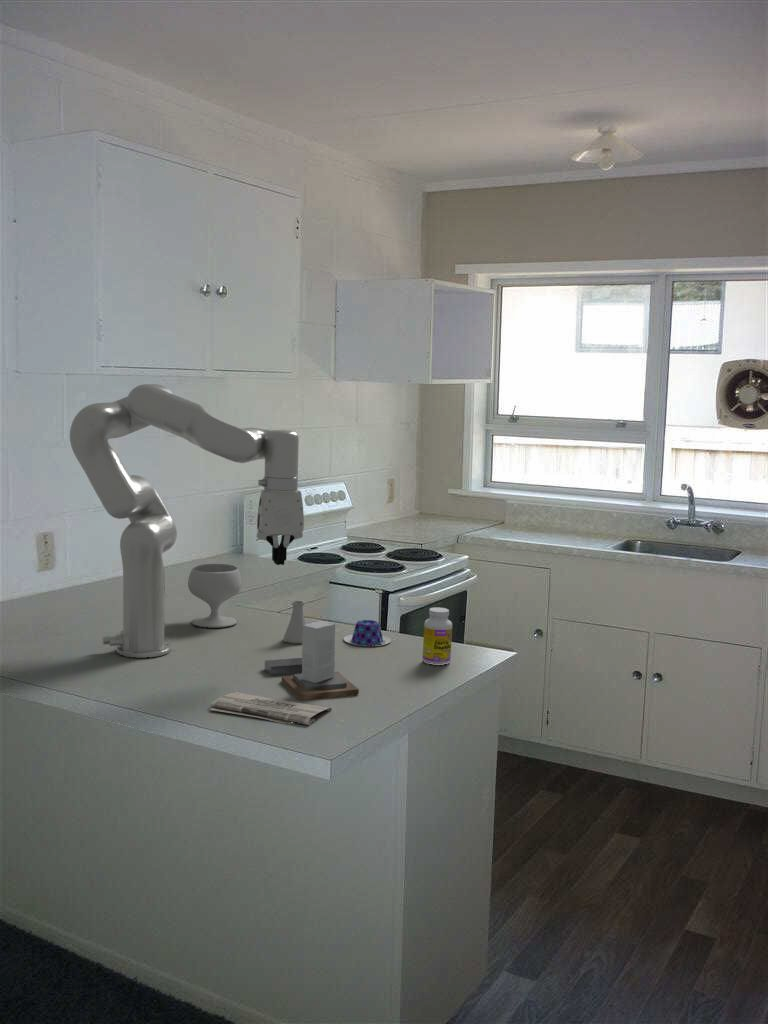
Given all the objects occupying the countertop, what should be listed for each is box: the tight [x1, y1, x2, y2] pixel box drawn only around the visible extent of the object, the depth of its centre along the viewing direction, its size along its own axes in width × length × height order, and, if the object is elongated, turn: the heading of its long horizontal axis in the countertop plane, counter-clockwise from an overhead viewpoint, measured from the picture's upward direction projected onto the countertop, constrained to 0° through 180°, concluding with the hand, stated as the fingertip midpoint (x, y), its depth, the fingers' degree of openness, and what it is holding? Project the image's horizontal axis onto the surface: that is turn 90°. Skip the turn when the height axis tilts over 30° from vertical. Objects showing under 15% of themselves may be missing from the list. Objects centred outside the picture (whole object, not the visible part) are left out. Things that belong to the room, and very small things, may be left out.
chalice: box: [187, 563, 242, 629], centre depth 267 cm, size 14×14×15 cm
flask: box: [282, 600, 307, 644], centre depth 253 cm, size 7×7×10 cm
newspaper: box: [209, 691, 333, 726], centre depth 201 cm, size 23×12×2 cm, turn 68°
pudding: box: [343, 619, 392, 647], centre depth 255 cm, size 12×12×5 cm
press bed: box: [281, 671, 360, 701], centre depth 216 cm, size 13×13×2 cm
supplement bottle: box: [422, 607, 453, 664], centre depth 238 cm, size 7×7×13 cm
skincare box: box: [301, 620, 336, 683], centre depth 215 cm, size 6×4×12 cm
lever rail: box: [264, 657, 335, 676], centre depth 229 cm, size 15×5×2 cm, turn 112°
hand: (279, 563), depth 232 cm, fingers closed
